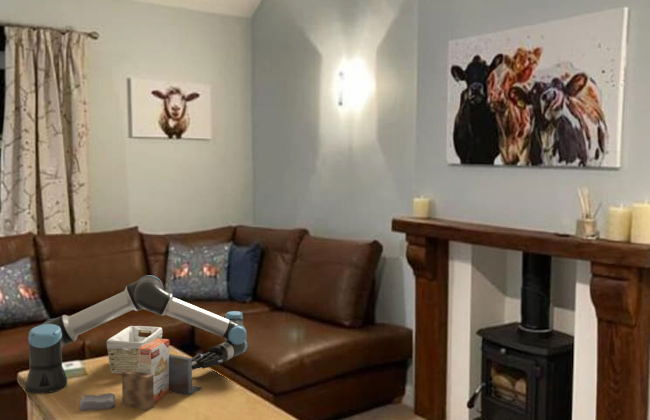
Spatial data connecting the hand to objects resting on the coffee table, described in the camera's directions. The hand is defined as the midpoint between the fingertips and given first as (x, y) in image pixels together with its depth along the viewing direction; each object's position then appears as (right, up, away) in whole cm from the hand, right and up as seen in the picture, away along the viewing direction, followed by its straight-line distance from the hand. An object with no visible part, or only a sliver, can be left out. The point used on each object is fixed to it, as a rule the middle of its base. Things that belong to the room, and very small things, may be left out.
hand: (184, 369), depth 250 cm
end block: (-13, -9, -18) cm, 24 cm away
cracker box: (-9, -8, -10) cm, 16 cm away
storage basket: (-27, -5, +25) cm, 37 cm away
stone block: (-28, -9, -18) cm, 34 cm away
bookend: (-1, -7, -2) cm, 8 cm away
